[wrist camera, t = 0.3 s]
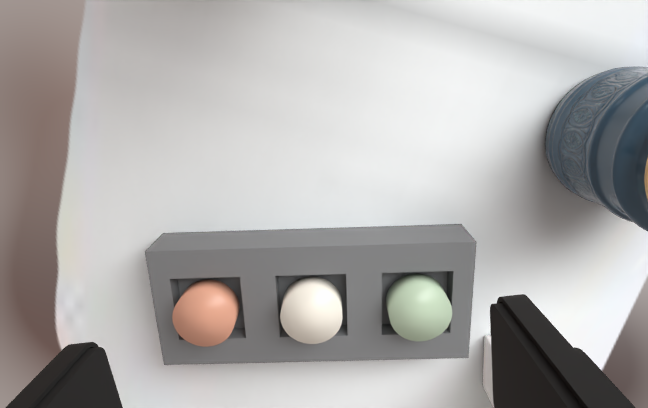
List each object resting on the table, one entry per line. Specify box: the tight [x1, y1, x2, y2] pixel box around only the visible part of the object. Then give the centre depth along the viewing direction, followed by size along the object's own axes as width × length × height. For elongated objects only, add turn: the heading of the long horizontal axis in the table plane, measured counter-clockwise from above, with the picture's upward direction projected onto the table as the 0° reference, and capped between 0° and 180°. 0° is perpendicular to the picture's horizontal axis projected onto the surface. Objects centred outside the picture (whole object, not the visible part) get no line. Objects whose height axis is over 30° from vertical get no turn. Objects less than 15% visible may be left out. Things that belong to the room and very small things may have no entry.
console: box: [145, 224, 476, 365], centre depth 47 cm, size 13×32×5 cm, turn 92°
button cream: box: [280, 276, 342, 344], centre depth 44 cm, size 6×6×3 cm
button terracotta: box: [172, 279, 240, 347], centre depth 44 cm, size 6×6×3 cm
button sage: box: [386, 273, 452, 341], centre depth 44 cm, size 6×6×3 cm
